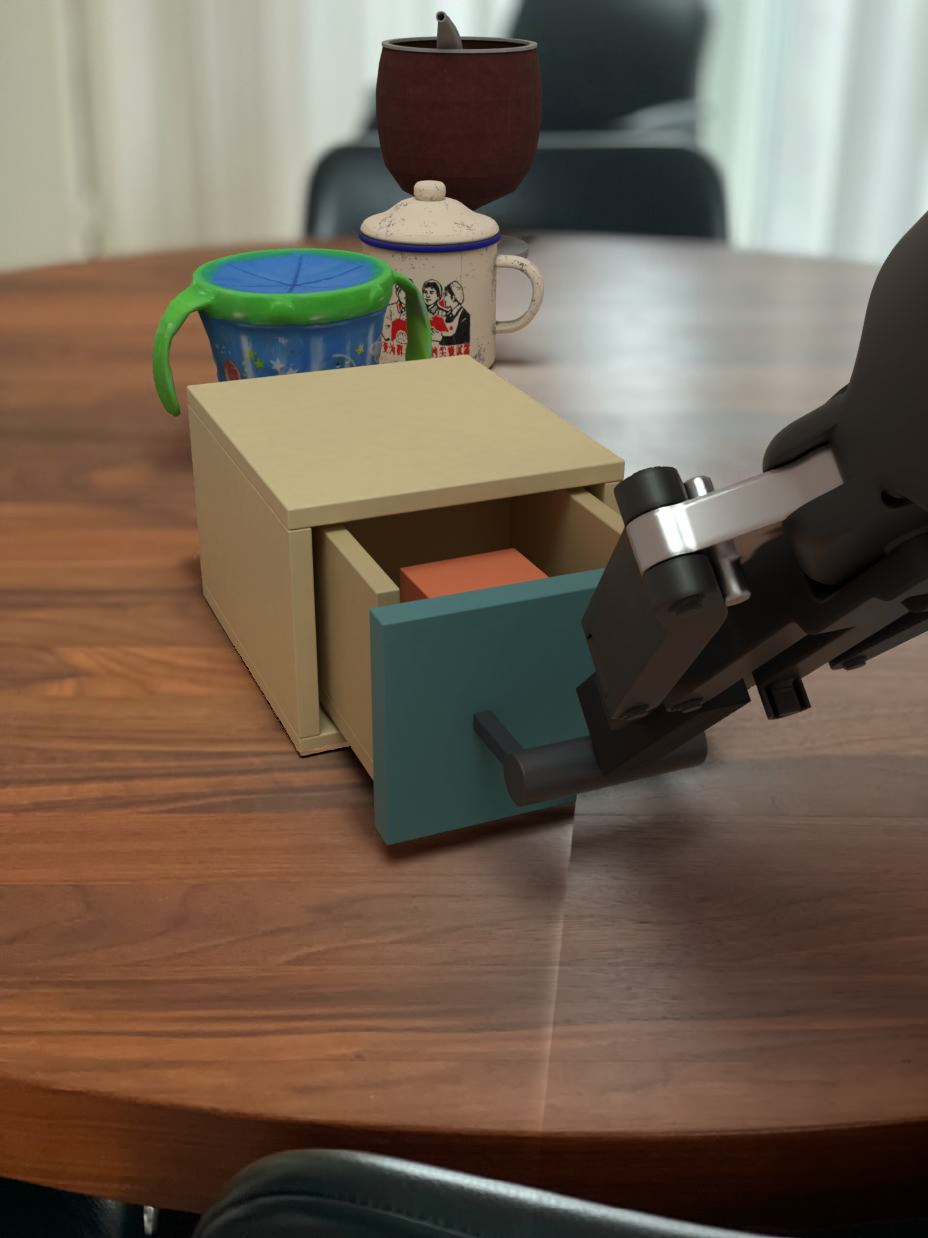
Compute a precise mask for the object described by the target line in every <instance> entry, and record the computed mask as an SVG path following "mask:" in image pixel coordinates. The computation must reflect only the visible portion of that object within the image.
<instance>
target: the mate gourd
mask: <svg viewBox="0 0 928 1238" xmlns="http://www.w3.org/2000/svg"><path fill="white" fill-rule="evenodd" d="M435 20H436V22H437V29H436V36H435V35H433V36H411V37H410V36H409V37H397V38H390V39H385V40H383V41H381V52H380V57H379V61H378V67H377V68H378V69H377V77H376V85H375V122H376V128H377V129H376V130H377V134H378V141H379V148H380V151H381V155H382V159H383V163H384V166H385V168H386V169H387V171H388V172H389V174H390V175H391V176H392V178H393V179H394V181H395V182H396V184H397V185H398V186H399V188H400V190H402V191H403V193H407V194H408V195H411V196H412V197H415V195H414V186H415V184H416V183H417V182H419V181H428V180H430V181H440V182H442V183H443V184H444V185H445V188H446V194H445V196H444V197H447V198H451V199H454V200H457V201H459V202H461V203H462V204H463V205H465V206H466V207H467V208H469V209H470V210H472V211H473V212H475V211H477V210H479V209H481V208H482V207H485V206H486V205H488V204H492V203H493V202H495V201H497V200H499V199H501V198H504V197H506V196H508V195H510V194H513V193H514V192H515V191H516V190H517V189H518V188H519V187H520V185H521V183H522V182H523V180H524V179H525V178H526V176H527V175H528V174H529V173H530V171H531V169H532V168H533V165H534V161H535V158H536V154H537V151H538V145H539V139H540V134H541V133H540V132H541V127H542V117H543V84H542V74H541V64H540V60H539V54H538V50H537V48H538V42H536V41H532V40H528V39H521V38H511V37H497V36H496V37H495V36H468V35H467V36H466V35H465V36H463V35H460V32H459V30H458V28H457V26H456V25H455V24H454V22H453V20H452V19H451V17H450V16H449V15H447V13H446V12H445V11H443V10H439V11H437V12H436V13H435ZM527 254H528V255H529V244H528V243H527V241H525V240H523V239H521V238H517V237H515V236H511V235H507V234H502V233H501V238H500V240H499V241H498V242H497V255H514V256H520V257H523V258H525V257H526V256H527ZM527 257H528V256H527ZM527 257H526V258H527ZM526 258H525V259H526Z"/></svg>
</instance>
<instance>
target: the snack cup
mask: <svg viewBox="0 0 928 1238" xmlns="http://www.w3.org/2000/svg"><path fill="white" fill-rule="evenodd" d="M191 279H192V280H191V283H190V284H189V286H188V287H187V288H186V289H184V290H183V291H181V292H179V294H177V296H175V297H174V298H173V299H171V300H170V302H169V304H168V306H167V308H166V309H165V311H164V312H163V315H162V316H161V318H160V320H159V322H158V326H157V330H156V333H155V337H154V341H153V348H152V375H153V381H154V386H155V389H156V392H157V395H158V398H159V400H160V403H161V404H162V406H163V408H164V409H165V411H166V412H167V413H169V414H170V415H172V416H173V417H174V418H175V417H176V418H177V417H179V416H180V415H181V414H182V411H181V406H180V402H179V401H178V398H177V393H176V388H175V387H176V386H175V380H174V375H173V370H172V368H171V365H170V349H171V345H172V341H173V339H174V337H175V336H176V334H178V332H179V331H180V329H181V327H182V326H183V325H184V323H185V322H186V320H187V319H188V317H190V314H193V313H195V312H197V313H198V316H199V319H200V321H201V323H202V326H203V328H204V331H205V333H206V336H207V338H208V341H209V345H210V350H211V355H212V358H213V359H212V360H213V362H214V364H215V367H216V378H217V382H225V381H234V380H243V379H252V378H261V377H270V376H279V375H288V374H297V373H306V372H315V371H324V370H333V369H342V368H351V367H360V366H369V365H378V364H379V358H380V353H381V346H382V340H381V338H382V331H383V323H384V317H385V313H386V310H387V307H388V304H389V302H390V300H391V297H392V293H393V285H394V284H395V283H396V284H397V285H398V286H399V287H400V288H401V289H402V290H403V291H404V292H405V304H406V324H407V340H408V342H407V346H406V352H405V361H414V360H423V359H431V356H432V334H431V326H430V321H429V315H428V311H427V308H426V305H425V302H424V299H423V296H422V295H421V293H420V291H419V290H418V288H417V287H416V285H415V284H414V283H413V282H412V281H411V280H409V279H408V278H407V277H405V276H403V275H401V274H400V273H397V272H395V271H393V270H392V269H391V267H390V266H389V265H388V264H387V263H386V262H384V261H383V260H381V259H378V258H376V257H373V256H370V255H367V254H363V252H356V251H350V250H343V249H333V248H316V247H314V248H312V247H311V248H310V247H293V248H291V247H289V248H288V247H287V248H274V249H273V248H272V249H271V248H270V249H262V250H253V251H247V252H239V253H236V254H235V253H234V254H231V255H230V254H229V255H226V256H222V257H219V258H216V259H215V258H214V259H212V260H210V261H207V262H205V263H203V264H202V265H201V264H200V266H199V267H197V268H196V269H195V270H194V271H193V273H192V278H191Z"/></svg>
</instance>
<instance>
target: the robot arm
mask: <svg viewBox="0 0 928 1238" xmlns="http://www.w3.org/2000/svg"><path fill="white" fill-rule="evenodd" d="M849 378H850V379H849V382H848V383H847V384H846V385H843V387H841V388H840V389H839V390H838V391H837V392H835V393H834V394H833V395H832V396H831V397H830V398H829V399H828V400H827V401H826V402H825V403H823V404H822V405H820V406H818V407H817V408H815V409H812V411H810V412H808V413H806V414H804V415H802V416H801V417H799V418H797V419H795V420H794V421H792V422H790V423H789V424H787V425H786V426H785V427H783V428H782V429H781V430H780V431H779V432H777V433H776V434H775V435H774V436H773V438H772V439H771V440H770V442H769V444H768V445H767V447H766V449H765V450H764V454H763V458H762V464H761V465H762V466H761V467H762V468H761V469H762V473H759V474H757V475H754V476H752V477H749V478H746V479H743V480H740V481H738V482H735V483H732V484H730V485H727V486H723V487H721V488H718V489H715V486H714V483H713V481H712V479H711V476H707V475H698V476H694V477H691V478H689V479H687V480H685V481H683V480H682V477H681V475H680V473H679V471H678V469H677V468H675V467H674V466H669V465H667V466H666V465H665V466H664V465H662V466H661V465H656V466H650V467H646V468H643V469H639V470H638V471H636V472H633V473H632V474H631V475H629V476H627V477H625V478H624V479H623V481H621V482H620V483H618V484H617V486H616V487H615V488H614V496H615V499H616V502H617V505H618V508H619V511H620V514H621V517H622V520H623V523H624V526H625V527H624V529H623V531H622V533H621V535H620V538H619V540H618V542H617V544H616V546H615V548H614V551H613V553H612V555H611V557H610V559H609V561H608V564H607V566H606V568H605V570H604V572H603V574H602V577H601V579H600V581H599V583H598V585H597V587H596V590H595V592H594V594H593V596H592V598H591V600H590V603H589V605H588V607H587V609H586V611H585V613H584V616H583V618H582V620H581V624H582V627H583V630H584V633H585V637H586V640H587V644H588V647H589V650H590V653H591V656H592V660H593V663H594V666H595V669H596V672H594V673H593V674H592V675H591V676H590V677H589V678H587V679H586V680H585V681H584V682H583V683H582V684H580V685H579V686H578V687H577V688H576V692H577V695H578V698H579V701H580V704H581V708H582V711H583V714H584V717H585V720H586V724H587V727H588V730H589V733H590V736H591V740H592V743H593V746H594V749H595V753H596V756H597V759H598V762H599V765H600V769H601V772H602V775H603V777H605V776H609V775H613V774H618V773H622V772H626V771H631V770H635V769H639V768H643V767H648V766H650V765H651V764H653V763H654V762H656V761H658V760H659V759H661V758H662V757H664V756H666V755H667V754H669V753H670V752H672V751H673V750H675V749H677V748H678V747H680V746H681V745H683V744H684V743H686V742H688V741H689V740H691V739H692V738H694V737H696V736H697V735H699V734H700V733H702V732H703V731H704V732H705V731H707V730H709V729H710V728H712V727H713V726H715V725H716V724H718V723H719V722H721V721H722V720H724V719H725V718H727V717H729V716H730V715H732V714H734V713H735V712H736V711H738V710H740V709H741V708H743V707H745V706H746V705H748V704H749V703H751V702H752V699H751V696H750V693H749V690H750V689H751V688H752V687H754V686H755V687H756V690H757V693H758V695H759V698H760V701H761V703H762V706H763V709H764V712H765V716H766V718H767V720H769V721H770V720H771V721H774V720H779V719H783V718H786V717H787V718H788V717H790V716H794V715H797V714H799V713H802V712H805V711H806V710H808V709H811V708H812V704H811V701H810V699H809V696H808V693H807V690H806V687H805V684H804V682H803V678H805V677H806V676H808V675H810V674H811V673H814V672H815V671H816V670H818V669H819V668H821V667H822V666H824V665H826V664H827V663H828V666H829V668H830V670H832V671H837V670H838V671H839V670H842V669H844V671H854V670H856V669H860V668H861V667H864V666H866V665H867V662H868V661H869V660H871V659H874V658H876V657H878V656H879V655H882V654H884V653H886V652H887V651H890V650H892V649H894V648H896V647H898V646H900V645H902V644H903V643H907V642H909V641H910V640H912V639H914V638H917V637H918V636H920V635H923V634H924V633H927V632H928V210H926V212H924V213H923V215H922V216H920V218H919V219H917V221H916V222H915V223H914V224H913V225H912V226H911V227H910V228H909V229H908V230H907V231H906V232H905V234H903V235H902V236H901V238H900V239H899V240H898V241H897V243H896V244H895V245H894V246H893V248H892V249H891V250H890V252H889V254H888V255H887V256H886V258H885V260H884V261H883V264H882V265H881V267H880V269H879V271H878V273H877V275H876V277H875V280H874V283H873V287H872V288H871V291H870V296H869V298H868V302H867V306H866V311H865V315H864V320H863V325H862V329H861V335H860V340H859V345H858V348H857V354H856V357H855V360H854V365H853V369H852V371H851V376H850V377H849Z"/></svg>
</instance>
